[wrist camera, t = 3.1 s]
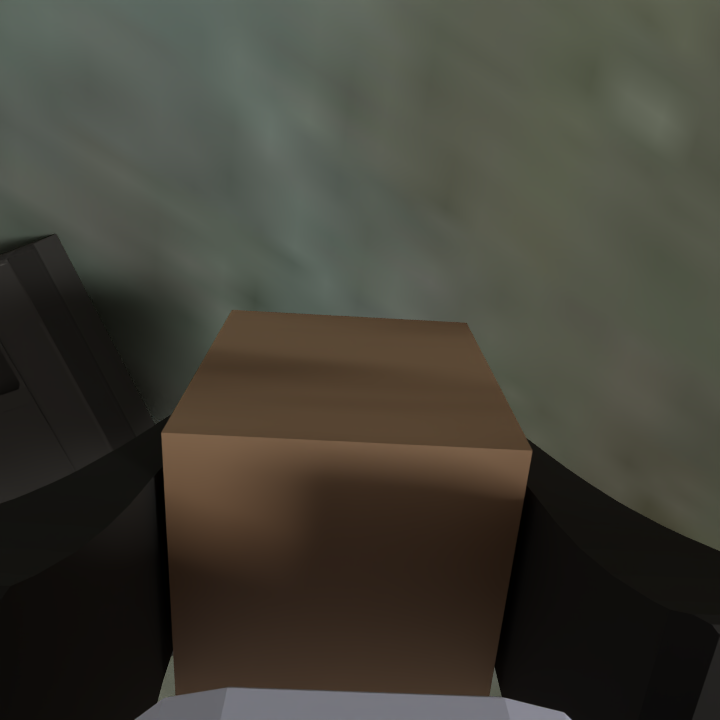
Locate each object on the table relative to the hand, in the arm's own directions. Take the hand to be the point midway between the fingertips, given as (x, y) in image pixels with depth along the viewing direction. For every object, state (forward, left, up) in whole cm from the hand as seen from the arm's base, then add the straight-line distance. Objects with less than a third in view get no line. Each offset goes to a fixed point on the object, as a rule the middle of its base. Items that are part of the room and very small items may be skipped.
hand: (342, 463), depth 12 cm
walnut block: (0, 0, -2) cm, 2 cm away
